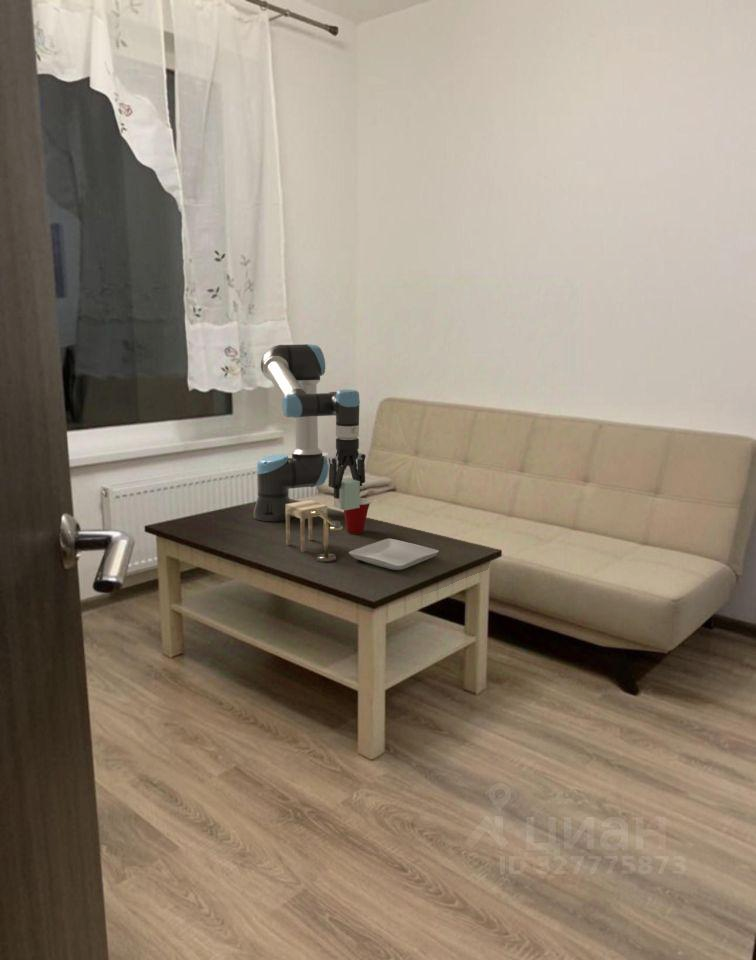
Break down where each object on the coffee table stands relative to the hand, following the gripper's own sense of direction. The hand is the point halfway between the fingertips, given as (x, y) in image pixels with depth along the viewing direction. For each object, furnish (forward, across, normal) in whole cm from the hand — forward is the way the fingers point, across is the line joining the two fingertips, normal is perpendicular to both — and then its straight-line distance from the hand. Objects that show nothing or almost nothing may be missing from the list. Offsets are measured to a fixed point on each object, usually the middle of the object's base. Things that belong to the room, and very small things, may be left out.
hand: (346, 505), depth 251 cm
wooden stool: (+14, -11, +7) cm, 19 cm away
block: (0, 0, 0) cm, 0 cm away
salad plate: (+14, +3, -22) cm, 26 cm away
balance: (+13, -14, -8) cm, 21 cm away
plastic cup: (+14, +12, +10) cm, 21 cm away
